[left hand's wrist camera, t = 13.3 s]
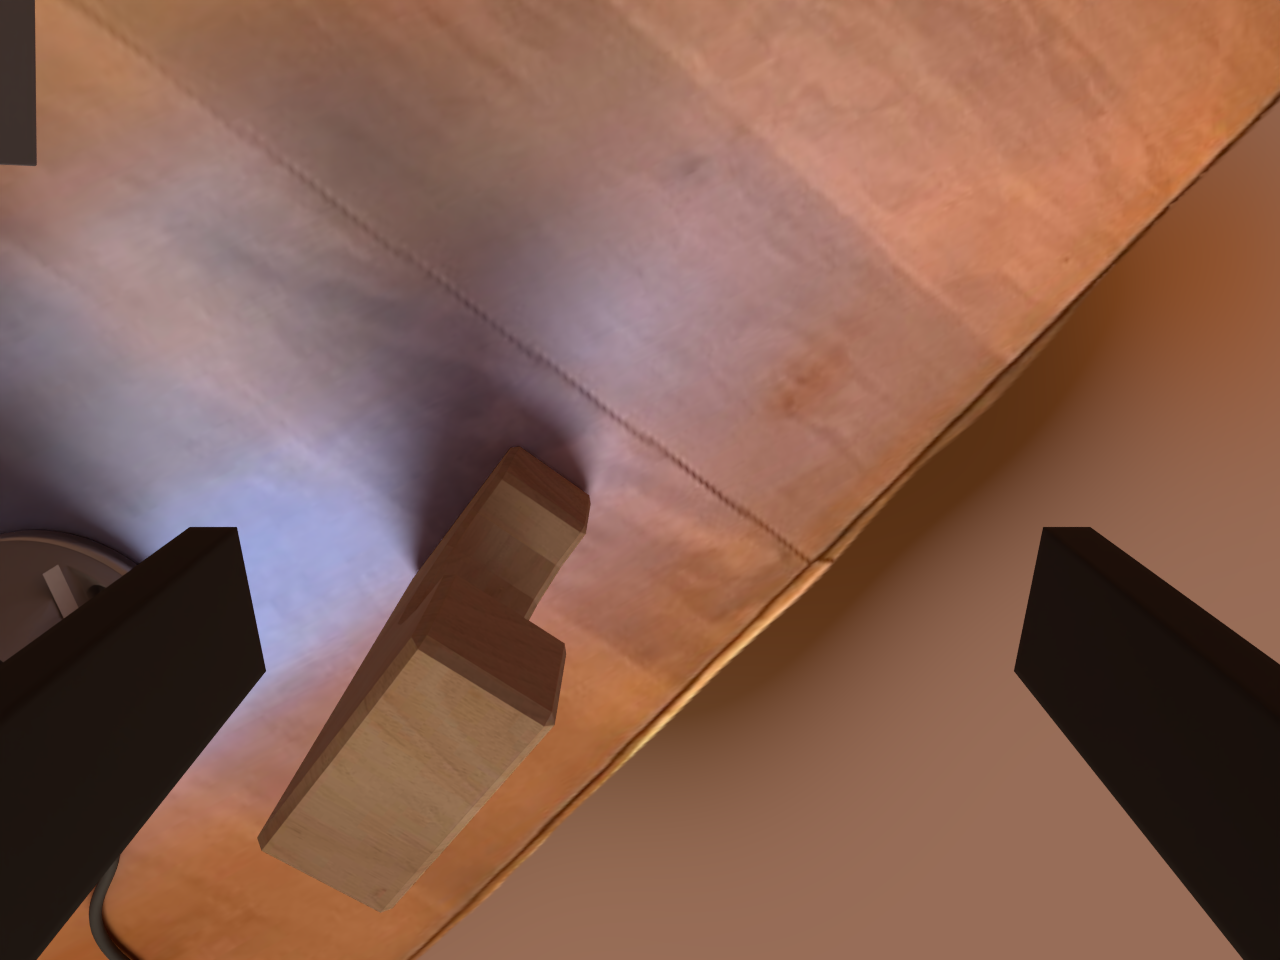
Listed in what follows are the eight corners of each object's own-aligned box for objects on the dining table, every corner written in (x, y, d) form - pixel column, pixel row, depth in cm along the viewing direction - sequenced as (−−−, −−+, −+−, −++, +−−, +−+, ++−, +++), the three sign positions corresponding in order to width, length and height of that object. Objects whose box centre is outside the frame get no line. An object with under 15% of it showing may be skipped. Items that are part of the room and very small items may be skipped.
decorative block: (516, 439, 42) (416, 632, 23) (597, 499, 43) (565, 728, 24) (408, 578, 45) (242, 848, 26) (487, 630, 46) (382, 924, 27)
